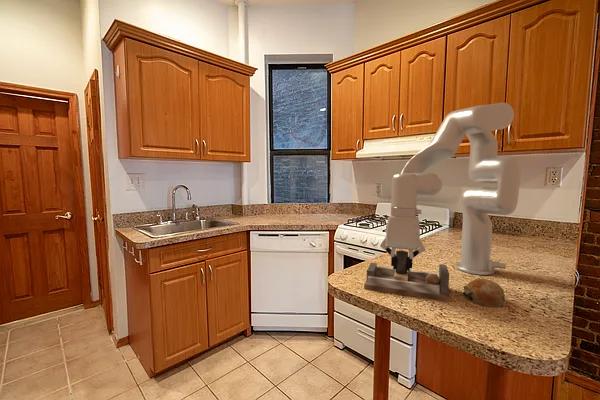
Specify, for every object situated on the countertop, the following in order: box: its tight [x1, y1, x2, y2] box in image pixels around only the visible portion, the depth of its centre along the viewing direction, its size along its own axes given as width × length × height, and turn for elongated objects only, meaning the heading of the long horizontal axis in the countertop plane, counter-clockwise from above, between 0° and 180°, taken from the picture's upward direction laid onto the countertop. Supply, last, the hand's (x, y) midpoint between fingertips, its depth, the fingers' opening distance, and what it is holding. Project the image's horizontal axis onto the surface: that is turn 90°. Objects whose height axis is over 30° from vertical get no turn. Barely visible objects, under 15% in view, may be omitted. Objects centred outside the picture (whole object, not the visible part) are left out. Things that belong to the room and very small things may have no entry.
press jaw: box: [394, 250, 410, 282], centre depth 91 cm, size 5×9×10 cm, turn 158°
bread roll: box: [462, 278, 506, 308], centre depth 82 cm, size 10×10×8 cm
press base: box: [363, 262, 450, 302], centre depth 91 cm, size 24×12×8 cm, turn 68°
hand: (401, 268), depth 91 cm, fingers closed on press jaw, 3 cm apart
